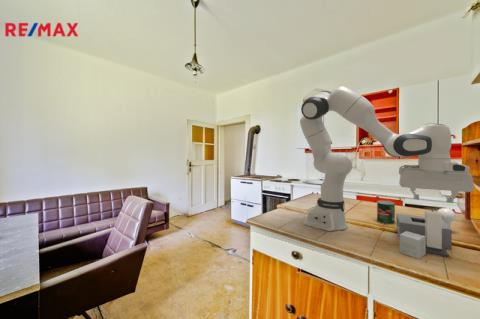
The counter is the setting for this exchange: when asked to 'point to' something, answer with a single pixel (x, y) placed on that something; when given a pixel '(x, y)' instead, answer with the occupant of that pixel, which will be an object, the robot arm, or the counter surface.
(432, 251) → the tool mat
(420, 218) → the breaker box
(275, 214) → the counter surface
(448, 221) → the lightbulb
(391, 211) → the canned tomato
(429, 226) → the beige rectangular block
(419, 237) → the product box
